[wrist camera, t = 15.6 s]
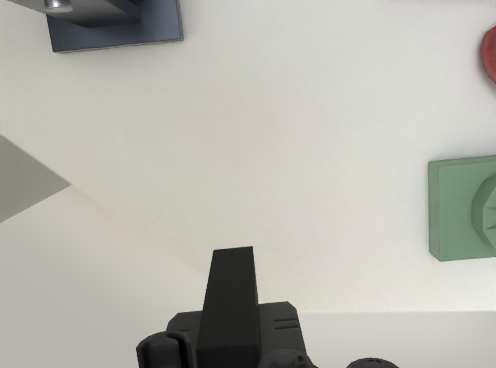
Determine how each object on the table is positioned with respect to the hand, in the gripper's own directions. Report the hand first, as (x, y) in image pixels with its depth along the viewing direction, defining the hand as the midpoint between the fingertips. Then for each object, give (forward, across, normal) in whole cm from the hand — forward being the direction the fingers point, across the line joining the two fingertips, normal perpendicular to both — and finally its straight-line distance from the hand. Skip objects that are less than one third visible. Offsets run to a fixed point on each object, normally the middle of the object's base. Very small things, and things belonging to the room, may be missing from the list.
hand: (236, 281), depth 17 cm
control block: (+20, +22, -4) cm, 30 cm away
